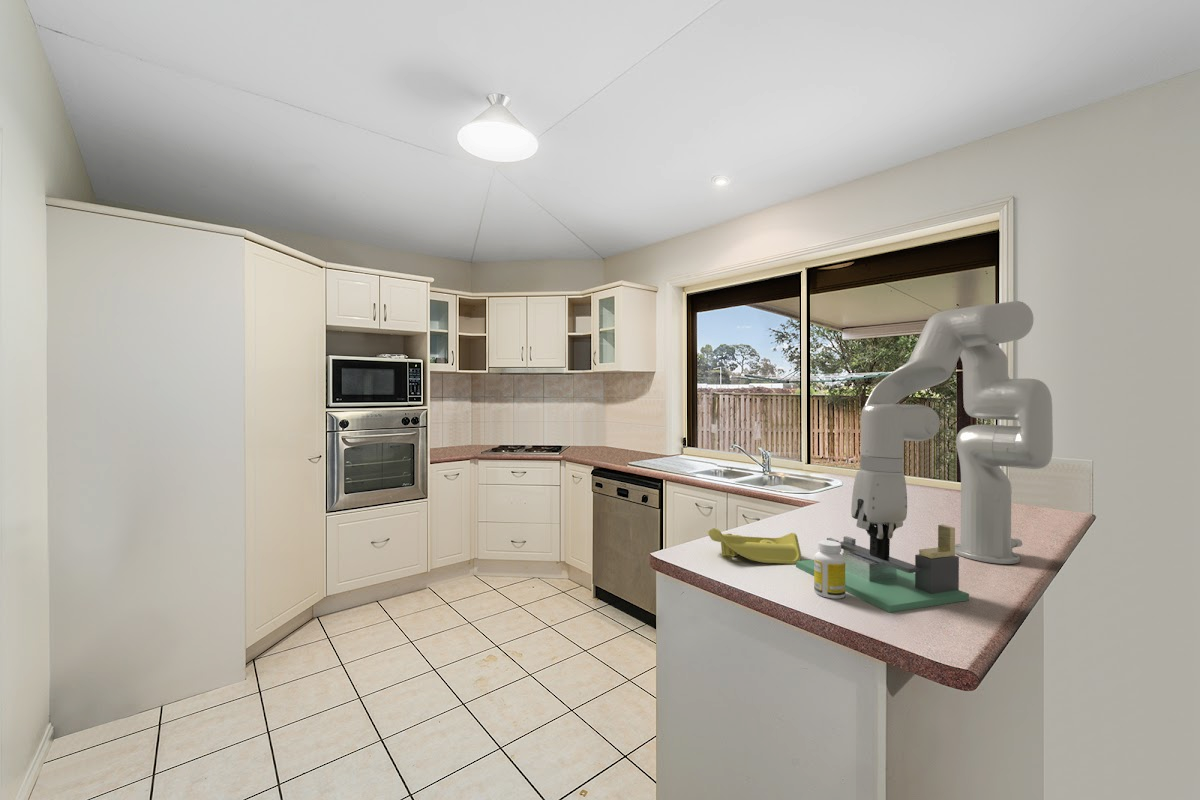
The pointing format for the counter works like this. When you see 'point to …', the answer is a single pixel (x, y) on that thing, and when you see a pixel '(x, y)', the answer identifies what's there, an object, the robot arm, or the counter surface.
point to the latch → (942, 544)
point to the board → (890, 589)
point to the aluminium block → (868, 568)
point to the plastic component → (759, 547)
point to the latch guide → (937, 574)
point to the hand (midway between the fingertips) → (879, 556)
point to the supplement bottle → (829, 570)
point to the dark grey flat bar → (890, 562)
